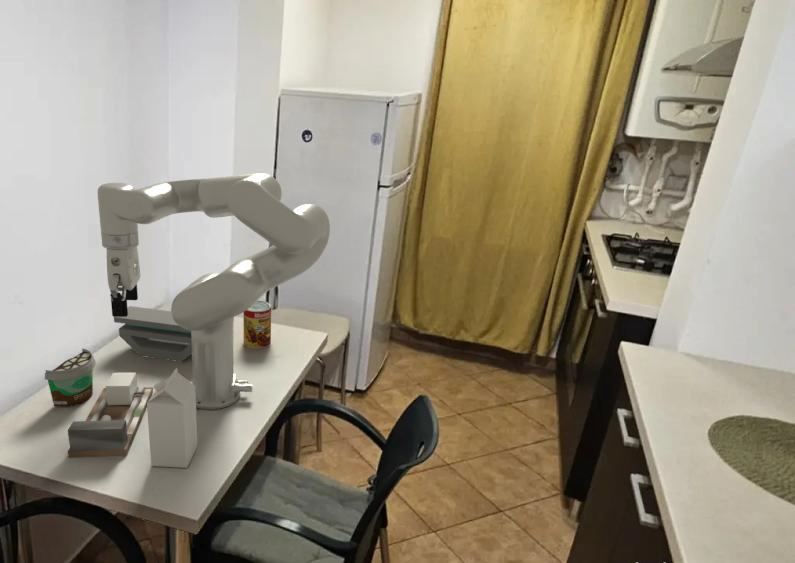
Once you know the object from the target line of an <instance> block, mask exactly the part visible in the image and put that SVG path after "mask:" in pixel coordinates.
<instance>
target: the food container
mask: <svg viewBox="0 0 795 563" xmlns="http://www.w3.org/2000/svg"><path fill="white" fill-rule="evenodd" d="M81 350H82V351H81V352H80V353H79V354H78V355H75V356H73V357H71V358H68V359H67V360H65V361H63V362H62V363H61V364H59V365H58V366H57V367H56V368H54V369H52V370H49V369H48V370H47V369H45V372H44V380H47V383H48V387H49V391H50V396H51V399H52V402H53V407H55V408H71V407H74V406H78V405H81V404H84V403H86V402H87V401H88V400H90V399H91V398H92V397H93V395H94V394H93V393H94V384H93V377H94V376H93V372H94V371H93V369H94V368H95V366H96V359H95V357H94V354H93V353H92V352H91V351H90V350H89V349H86V348H81Z"/></svg>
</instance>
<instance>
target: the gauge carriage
mask: <svg viewBox="0 0 795 563" xmlns="http://www.w3.org/2000/svg"><path fill="white" fill-rule="evenodd" d="M105 388H106V396H107V405H131V404H132V402H133V399H134V397H135V395H136V394H145V392H137V388H138V380H137V372H112V374H111V376H110V378H109V379H108V381H107V383H106V385H105Z"/></svg>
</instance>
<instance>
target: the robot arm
mask: <svg viewBox="0 0 795 563" xmlns="http://www.w3.org/2000/svg"><path fill="white" fill-rule="evenodd" d="M282 196H283V195H282V187H281V184H280V183H279V181H278V180H277V179H276V178H275V177H274V176H273V175H270V174H268V173H264V172H263V173H261V172H258V173H256V172H255V173H247V174H246V173H245V174H237V175H229V176H228V175H227V176H219V177H208V178H197V179H196V178H195V179H194V178H193V179H183V180H182V179H181V180H175V181H174V180H173V181H164V182H158V183H155V184H151V185H148V186H144V187H141V188H138V189H137V188H136V189H135V188H134V187H133V186H132V185H131V184H128V183H124V182H123V183H122V182H108V183H103V184H101V185H100V186H99V187H98V189H97V203H98V214H99V216H98V217H99V226H100V235H101V236H100V238H101V245H102V248H105V249H106V271H107V272H106V273H107V274H106V275H107V285H108V289H109V290H110V291H109V292H110V294H109V296H110V303H111V315H112V317H113V318H114V317H127V316H128V301H137V300H138V298H139V296H138V294H139V293H138V282H139V281H140V279H141V268H140V260H139V259H140V258H139V251H138V246H139V244H140V243H139V242H140V241H139V228H138V224H139V225H150V224H153V223H155V222H158V221H159V220H162V219H164V218H167V217H168V216H171V215H175V214H181V213H182V214H183V213H192V212H194V213H195V212H197V213H198V212H202V213H204V214H205V215H206V217H209V218H211V219H212V218H213V219H217V218H224V217H232V216H233V217H235V218H236V219H237V220H238V221H239V222H241V224H244V225H245V226H246V227H247V228H249V229H250V230H251V231H253V232H254V233H256V234H257V235H258V236H260V238H262V239H264V240H266V241H267V242H268V243H270V244H271V246H270V247H268V248H265V249H263V250H261V251H259V252H257V253H255V254H253V255H249V256H247V257H245V258H243V259H240V260H237V261H236V262H233V263H232V264H231V265H230V266H228V267H227V268H226V269H224V270H223V271H221V272H220V273H219V272H210V273H207V274H204V275H202V276H201V277H198V278H197V279H196V280H194V281H193V282H192V283H190V284H189V285H188V286H186V287H185V288H183V289H182V290H181V291H180V292H179V293H178V294H176V295H175V297H174V298H173V300H172V303H171V308H170V311H171V313H172V317H173V319H174V321H175V322H176V323H177V324H178V325H179V326H180V327H182V328H184V329H186V330H190V331H191V349H192V354H191V365H192V368H191V371H192V372H191V373H192V374H191V375H192V384H193V385H194V386H195V396H196V409H200V410H218V409H222V408H226V407H228V406H231V405H233V404H235V403H236V402H237V401H238V399H239V398H240V396H241V393H243V392H245V393H246V392H247V393H250V392H251V393H252V392H253V383H249V379H242V380H241V379H238V378H237V375H236V373H234V321H235V317H237V316H239V315H241V314H242V313H243V312H244V311H246V310H248V309H249V308H250V307H252V306H253V305H254V304H255V303H256V302H257V301H260V299H261V298H262V297H263V296H264V295H265V294H266V293H267V292H269V291H271V290H272V289H274V288H277V287H278V286H280V285H282V284H284V283H287V282H288V281H290V280H292V279H294V278H296V277H298V276H300V275H301V274H303V273H304V272H306V271H308V270H309V269H310V268H311V267H313V265H314V264H315V263H316V262H317V261H318V260H319V259H320V257H321V256H322V255H323V253H324V251H325V250H326V247H327V246H328V243H329V238H330V232H331V225H330V220H329V216H328V214H327V212H326V211H325V210H324V208H322V207H320V206H319V205H317V204H312V203H311V204H310V203H309V204H308V203H307V204H301V205H299V206H296V207H295V208H293V209H292V208H290V207H288V206H287V205H285V204H284V203H282V202H281V199H282Z"/></svg>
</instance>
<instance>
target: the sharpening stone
mask: <svg viewBox="0 0 795 563" xmlns="http://www.w3.org/2000/svg"><path fill="white" fill-rule="evenodd" d="M127 308H128V316H127V317H113V322H114V323H117V324H123V325H122V326H120V327H119V328H118V335H119V337H120V338H121V339H122V340H123V341H124V342H125V343H126V344H127V345H128V346H129V347H131V349H133V351H134V352H135V353H137V355H139V356H140V357H142V356H148V357H147V358H149V357H154V358H153V359H157V358H161V359H160V360H164V359H169V360H168V361H171V360H176V361H175V362H179V361H181V362H183V361H184V360H186V358H188V357H189V356H192V349H191V331H190V330H186V329H184V328H182V327H180V326H179V325H178V324H177V323H176V322H175V321H174V319H173V317H172V313H171V310H170V311H169V310H164V309H163V310H162V309H155V308H147V307H141V306H140V307H139V306H133V305H132V306H131V305H129V306H127Z"/></svg>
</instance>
